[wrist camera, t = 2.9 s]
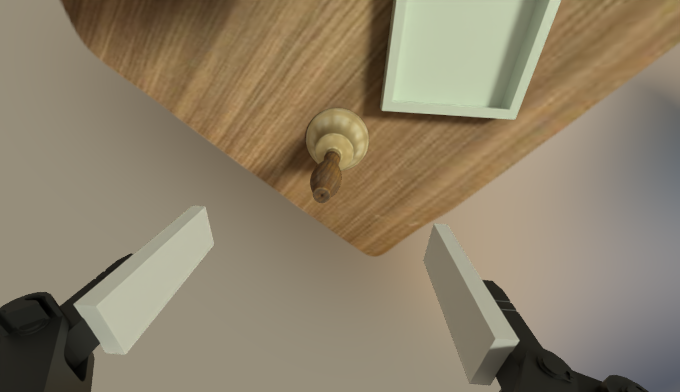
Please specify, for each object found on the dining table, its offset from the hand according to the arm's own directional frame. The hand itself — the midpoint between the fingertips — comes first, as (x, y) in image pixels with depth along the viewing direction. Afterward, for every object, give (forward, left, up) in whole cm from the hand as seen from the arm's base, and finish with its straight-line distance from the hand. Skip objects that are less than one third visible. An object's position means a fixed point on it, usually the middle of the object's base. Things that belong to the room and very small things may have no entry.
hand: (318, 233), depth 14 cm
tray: (+12, +12, -20) cm, 26 cm away
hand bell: (0, 0, -20) cm, 20 cm away
